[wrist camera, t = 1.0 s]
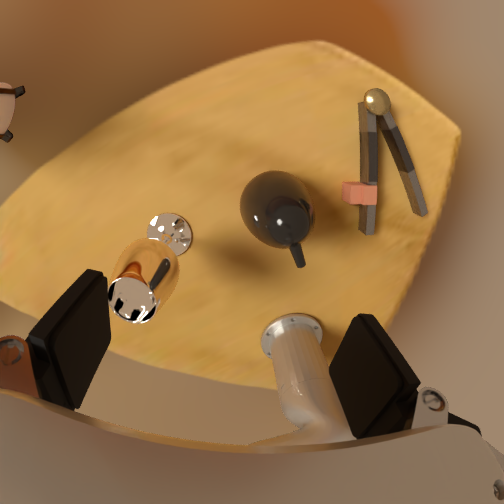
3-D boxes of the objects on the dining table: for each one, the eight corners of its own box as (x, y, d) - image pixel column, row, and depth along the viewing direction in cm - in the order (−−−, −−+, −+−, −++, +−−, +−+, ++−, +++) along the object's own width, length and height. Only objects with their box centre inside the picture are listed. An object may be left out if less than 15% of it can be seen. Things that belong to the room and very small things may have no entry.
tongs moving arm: (418, 208, 45) (428, 212, 42) (413, 212, 45) (422, 217, 42) (374, 100, 37) (383, 98, 34) (367, 103, 37) (376, 101, 34)
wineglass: (189, 209, 42) (159, 264, 24) (195, 255, 45) (175, 332, 27) (143, 214, 42) (88, 268, 23) (150, 258, 45) (109, 331, 26)
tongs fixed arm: (377, 228, 46) (388, 235, 42) (356, 229, 46) (366, 237, 42) (377, 93, 36) (389, 90, 32) (354, 90, 36) (365, 86, 32)
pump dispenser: (251, 240, 45) (261, 287, 31) (229, 180, 41) (229, 201, 27) (310, 220, 44) (345, 257, 30) (292, 159, 40) (325, 169, 26)
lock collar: (364, 198, 43) (376, 204, 39) (342, 199, 43) (352, 205, 39) (365, 181, 42) (377, 186, 38) (342, 181, 42) (353, 186, 38)
